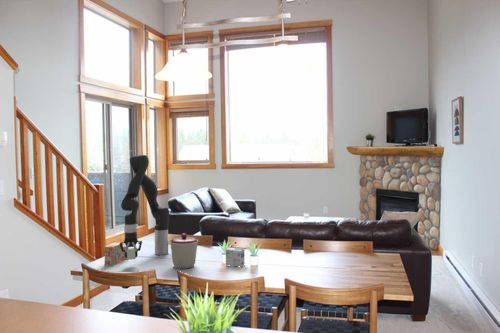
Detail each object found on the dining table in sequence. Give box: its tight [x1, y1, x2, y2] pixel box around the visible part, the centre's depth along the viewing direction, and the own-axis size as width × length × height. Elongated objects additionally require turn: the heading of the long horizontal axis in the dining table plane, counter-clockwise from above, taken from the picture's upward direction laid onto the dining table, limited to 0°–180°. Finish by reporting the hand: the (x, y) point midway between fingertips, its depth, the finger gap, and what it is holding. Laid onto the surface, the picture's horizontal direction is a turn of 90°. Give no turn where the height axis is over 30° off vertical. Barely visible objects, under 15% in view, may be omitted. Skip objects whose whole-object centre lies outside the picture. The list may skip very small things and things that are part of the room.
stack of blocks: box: [103, 242, 127, 267], centre depth 282 cm, size 21×6×12 cm, turn 170°
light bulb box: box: [225, 247, 246, 268], centre depth 273 cm, size 11×7×11 cm, turn 71°
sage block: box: [126, 247, 136, 261], centre depth 270 cm, size 5×5×6 cm
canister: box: [168, 232, 199, 270], centre depth 269 cm, size 18×18×21 cm
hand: (131, 257), depth 270 cm, fingers closed on sage block, 5 cm apart
